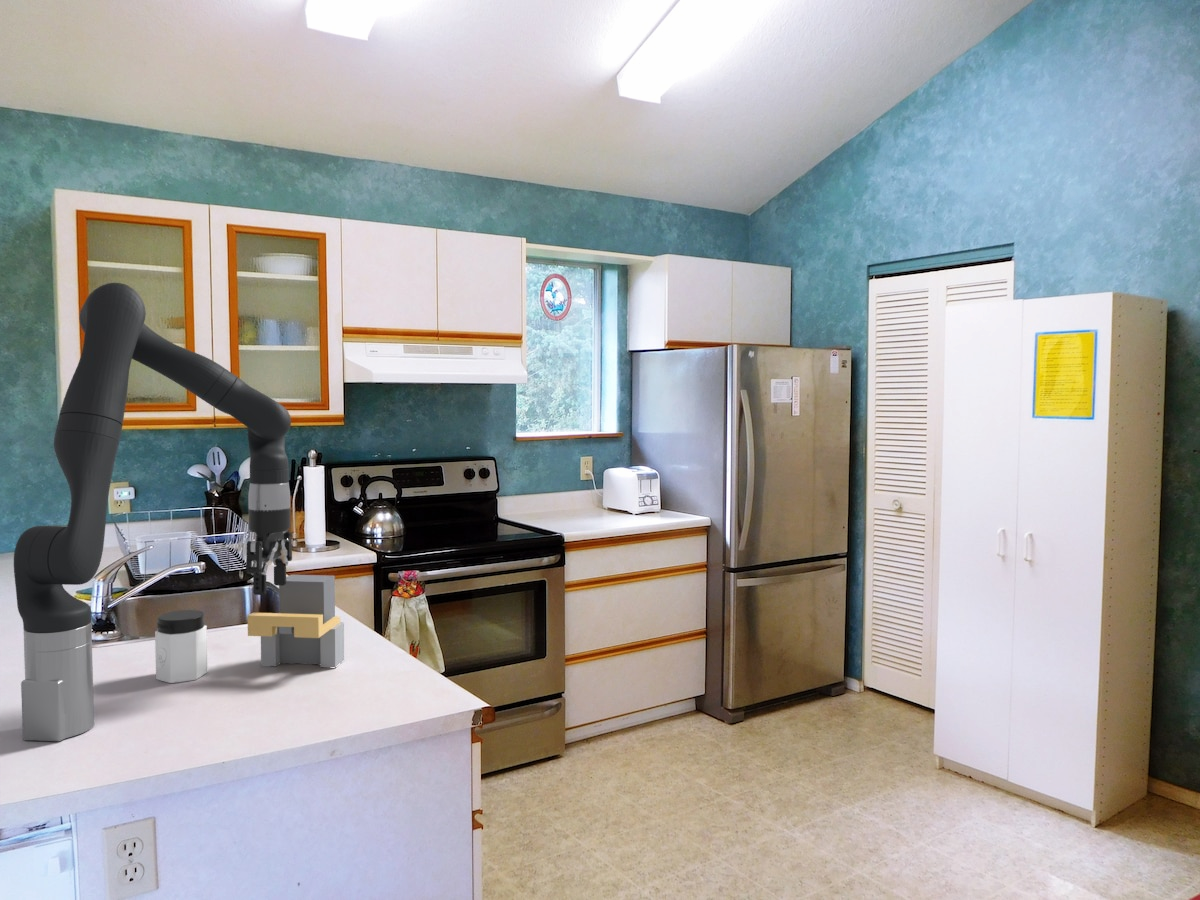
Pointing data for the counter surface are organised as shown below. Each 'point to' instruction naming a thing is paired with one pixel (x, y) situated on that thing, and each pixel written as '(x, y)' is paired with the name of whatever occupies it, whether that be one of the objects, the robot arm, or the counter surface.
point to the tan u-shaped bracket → (289, 624)
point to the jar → (181, 646)
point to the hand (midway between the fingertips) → (270, 589)
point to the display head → (305, 599)
